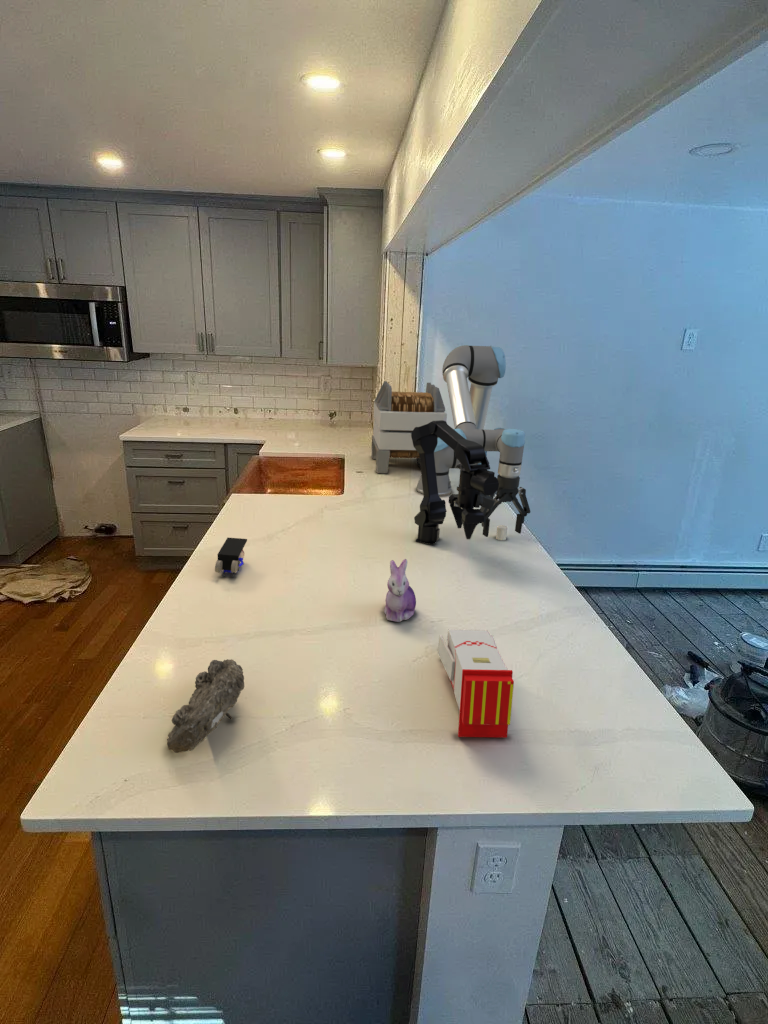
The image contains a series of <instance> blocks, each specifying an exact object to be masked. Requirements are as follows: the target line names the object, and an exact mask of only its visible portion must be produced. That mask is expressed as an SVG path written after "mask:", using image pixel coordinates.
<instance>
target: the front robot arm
mask: <svg viewBox="0 0 768 1024" xmlns="http://www.w3.org/2000/svg"><path fill="white" fill-rule="evenodd" d="M454 429H455V428H453V427H451V426H450V425H449V424H448V422H447V420H446V421H444V420H437V421H432V422H430V423H428V424H426V425H423V426H420V427H415V428H414V430H413V431H412V433H411V438H412V441H413V446H414V448H415V449H416V450H417V452H418V453H419V465H420V467H421V469H420V477H421V476H422V485H423V494H422V495H423V497H422V500H421V502H420V504H419V512H418V513H417V514H416V515H415V516H413V517H414V524H416V525H417V526H418V527H417V538H416V539H415V542H417V543H421V544H425V545H430V546H435V544H436V543H437V542H438V541H439V540H440V532H441V528H439V526H440V525H443V524H444V521H445V518H446V516H447V512H448V511H447V508H446V506H447V505H446V501H445V499H442V497H441V496H439V495H438V486H437V477H436V468H435V458H434V451H435V448H436V446H437V444H438V438H440V439H441V440H442V441H444V442H445V443H446V444H447V445H448V446H449V447H450V448H452V449H453V450H454V451H455V457H456V458H457V459H458V460H459V462H460V464H458V465H457V466H456V468H458V470H460V471H459V481H458V486H456V491H457V493H451V494H449V495H448V504H449V508H450V510H451V513H452V516H453V518H454V522H455V524H456V527H457V529H462V528H463V531H464V535H465V539H466V540H471V538H472V536H473V534H474V531H475V529H476V528H477V526H478V525H479V524H482V522H485V514H484V513H483V512H482V511H481V510H480V508H481V506H482V507H485V508H487V509H488V510H491V509H492V507H493V505H494V503H495V500H494V498H492V497H490V496H489V495H493V494H494V493H495V492H496V491H497V489H498V487H499V482H498V479H497V476H495V471H493V470H491V466H490V461H489V459H488V455H487V456H486V453H485V451H484V448H483V446H482V445H480V444H478V443H476V442H473V441H469V440H467V439H465V438H464V437H462V436H461V435H460V434H459V433H457V432H456V431H455V430H454ZM479 463H481V464H479ZM470 464H479V465H470Z"/></svg>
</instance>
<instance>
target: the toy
mask: <svg viewBox="0 0 768 1024" xmlns="http://www.w3.org/2000/svg"><path fill="white" fill-rule="evenodd" d="M446 640H447V643H446V641H445V639H444V636H443V635H442V634H439V637H438V646H437V656H438V657H439V659H440V661H441V663H442V666H443V668H444V670H445V672H446V674H447V677H448V679H449V681H450V684H451V687H452V690H453V693H454V697H455V701H456V705H457V708H458V711H459V714H458V715H459V716H458V730H457V731H458V732H457V737H458V738H508V731H509V726H510V725H511V717H512V707H513V697H514V696H513V695H514V684H515V680H514V679H513V673H514V671H513V670H512V669H508V667H507V665H506V662H505V661H504V659H503V658H502V655H501V653H500V651H499V649H498V647H497V643H496V639H495V637H494V635H493V634H491V632H490V631H489V629H467V628H466V629H465V628H463V629H461V628H460V629H459V628H448V630H447V639H446Z"/></svg>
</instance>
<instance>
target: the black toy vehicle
mask: <svg viewBox="0 0 768 1024" xmlns="http://www.w3.org/2000/svg"><path fill="white" fill-rule="evenodd" d="M247 542H248V538H240V537H226V539H225V541H224V543H223V544H222V546H221V547H220V549H219V551H218V552H217V560H216V562H215V564H214V572H215V573H221V577H222V578H224V577H225V576H226V574H227V573H230V574H231V573H232V574H231V578H234V577H235V575H236V573H237V572H239V571H240V567H242V566H243V565H244V564H245V562H244V558H245V551H244V547H245V546H246V544H247Z"/></svg>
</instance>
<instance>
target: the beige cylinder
mask: <svg viewBox="0 0 768 1024" xmlns="http://www.w3.org/2000/svg"><path fill="white" fill-rule="evenodd" d="M507 535H508V526H507V525H505V524H498V525H497V526H496V534H495V539H496V540H498V541H506V540H507Z"/></svg>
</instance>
